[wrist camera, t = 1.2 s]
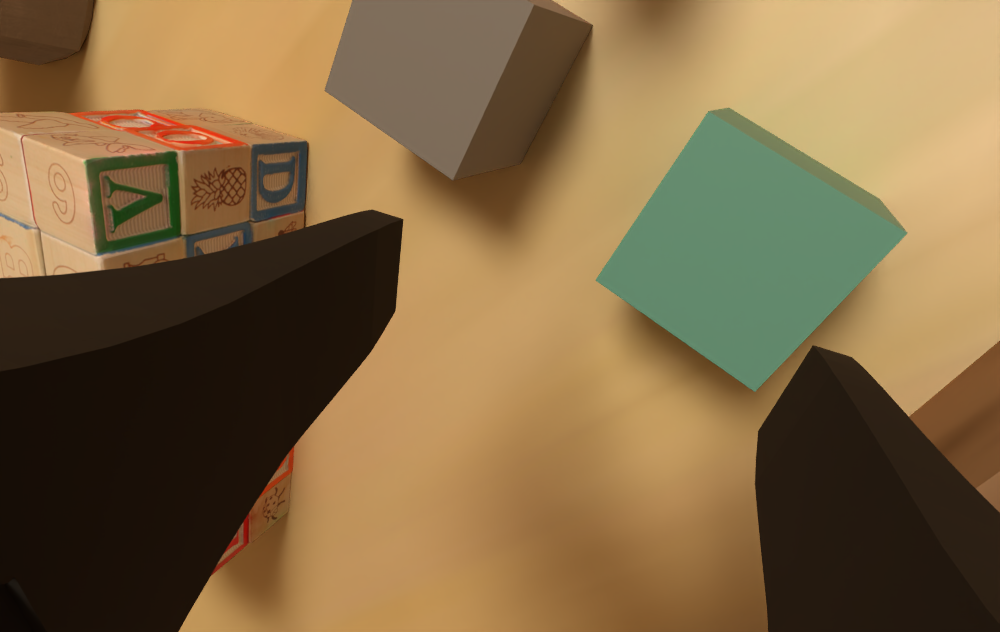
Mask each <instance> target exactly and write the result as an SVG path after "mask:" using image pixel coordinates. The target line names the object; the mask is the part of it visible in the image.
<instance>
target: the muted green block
mask: <svg viewBox="0 0 1000 632" xmlns="http://www.w3.org/2000/svg"><path fill="white" fill-rule="evenodd" d="M906 234H907V232H906V231H905V229H904V228H903V227H902V226H901V224H900V223H899V222H898V221H897V220H896V218H895V217H894V216H893V215H892V213H891V212H890V211H889V210H888V209H887V207H886V206H885V205H884V204H883V202H882V201H881V200H880V199H879V198H877V197H875V196H874V195H872V194H870V193H869V192H867V191H865V190H864V189H862V188H861V187H859V186H857V185H856V184H854V183H852V182H851V181H849V180H847V179H846V178H844V177H842V176H841V175H839V174H837V173H836V172H834V171H832V170H831V169H829V168H828V167H826V166H824V165H823V164H821V163H819V162H818V161H816V160H814V159H813V158H811V157H809V156H808V155H806V154H804V153H803V152H801V151H800V150H798V149H796V148H795V147H793V146H791V145H790V144H788V143H786V142H785V141H783V140H781V139H780V138H778V137H776V136H775V135H773V134H771V133H770V132H768V131H767V130H765V129H763V128H762V127H760V126H758V125H757V124H755V123H753V122H752V121H750V120H748V119H747V118H745V117H743V116H742V115H740V114H738V113H737V112H735V111H734V110H732V109H730V108H725V109H719V110H713V111H708V113H707V114H706V116H705V117H704V119H703V120H702V122H701V123H700V125H699V126H698V128H697V129H696V131H695V132H694V134H693V135H692V137H691V138H690V140H689V141H688V143H687V144H686V146H685V147H684V149H683V150H682V152H681V153H680V155H679V156H678V158H677V159H676V161H675V162H674V164H673V165H672V167H671V168H670V170H669V171H668V173H667V174H666V176H665V177H664V179H663V180H662V182H661V183H660V185H659V186H658V188H657V189H656V191H655V192H654V194H653V195H652V197H651V198H650V200H649V201H648V203H647V204H646V206H645V207H644V208H643V210H642V211H641V213H640V214H639V216H638V217H637V219H636V220H635V222H634V223H633V225H632V226H631V228H630V229H629V231H628V232H627V234H626V235H625V237H624V238H623V240H622V241H621V243H620V244H619V246H618V247H617V249H616V250H615V252H614V253H613V255H612V256H611V258H610V259H609V261H608V262H607V264H606V265H605V267H604V268H603V270H602V271H601V273H600V274H599V276H598V277H597V279H596V281H597V282H599V283H600V284H601V285H603V286H604V287H606V288H607V289H609V290H610V291H611V292H613V293H614V294H616V295H617V296H619V297H620V298H621V299H623V300H624V301H626V302H627V303H629V304H630V305H631V306H633V307H634V308H636V309H637V310H639V311H640V312H641V313H643V314H644V315H646V316H647V317H649V318H650V319H651V320H653V321H654V322H656V323H657V324H659V325H660V326H661V327H663V328H664V329H666V330H667V331H669V332H670V333H671V334H673V335H674V336H676V337H677V338H679V339H680V340H681V341H683V342H684V343H686V344H687V345H689V346H690V347H691V348H693V349H694V350H696V351H697V352H699V353H700V354H701V355H703V356H704V357H706V358H707V359H708V360H710V361H711V362H713V363H714V364H716V365H717V366H718V367H720V368H721V369H723V370H724V371H726V372H727V373H728V374H730V375H731V376H733V377H734V378H736V379H737V380H738V381H740V382H741V383H743V384H744V385H746V386H747V387H748V388H750V389H751V390H753V391H754V392H755V391H756V390H757V389H758V388H759V387H760V386H761V385H762V384H763V383H764V382H765V381H766V380H767V379H768V378H769V377H770V376H771V375H772V374H773V373H774V372H775V370H776V369H777V368H778V367H779V366H780V365H781V364H782V363H783V362H784V361H785V360H786V359H787V358H788V357H789V356H790V355H791V354H792V353H793V352H794V351H795V350H796V349H797V348H798V347H799V346H800V344H801V343H802V342H803V341H804V340H805V339H806V338H807V337H808V336H809V335H810V334H811V333H812V332H813V331H814V330H815V329H816V328H817V327H818V326H819V325H820V324H821V323H822V322H823V321H824V320H825V318H826V317H827V316H828V315H829V314H830V313H831V312H832V311H833V310H834V309H835V308H836V307H837V306H838V305H839V304H840V303H841V302H842V301H843V300H844V299H845V298H846V297H847V296H848V295H849V294H850V292H851V291H852V290H853V289H854V288H855V287H856V286H857V285H858V284H859V283H860V282H861V281H862V280H863V279H864V278H865V277H866V276H867V275H868V274H869V273H870V272H871V271H872V270H873V269H874V268H875V266H876V265H877V264H878V263H879V262H880V261H881V260H882V259H883V258H884V257H885V256H886V255H887V254H888V253H889V252H890V251H891V250H892V249H893V248H894V247H895V246H896V245H897V244H898V243H899V242H900V240H901V239H902V238H903V237H904V236H905V235H906Z"/></svg>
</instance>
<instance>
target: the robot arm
mask: <svg viewBox="0 0 1000 632" xmlns="http://www.w3.org/2000/svg"><path fill="white" fill-rule="evenodd" d="M402 228H403V219H401V218H398V217H394V216H391V215H388V214H385V213H381V212H378V211H375V210H368V211H362V212H358V213H354V214H350V215H346V216H343V217H339V218H336V219H333V220H329V221H326V222H323V223H319V224H316V225H313V226H309V227H306V228H302V229H299V230H296V231H292V232H289V233H286V234H282V235H279V236H275V237H272V238H268V239H264V240H260V241H256V242H252V243H248V244H244V245H240V246H237V247H233V248H229V249H225V250H221V251H217V252H212V253H208V254H203V255H198V256H193V257H188V258H183V259H178V260H172V261H166V262H160V263H154V264H148V265H141V266H134V267H126V268H117V269H107V270H98V271H89V272H79V273H70V274H61V275H47V276H30V277H13V278H0V632H178V631H179V630H180V628H181V626H182V624H183V622H184V621H185V619H186V617H187V615H188V613H189V612H190V610H191V608H192V607H193V605H194V603H195V601H196V600H197V598H198V596H199V595H200V593H201V591H202V590H203V588H204V586H205V585H206V583H207V581H208V579H209V578H210V576H211V574H212V573H213V571H214V569H215V568H216V566H217V564H218V562H219V561H220V559H221V557H222V556H223V554H224V552H225V551H226V549H227V547H228V546H229V544H230V543H231V541H232V539H233V538H234V536H235V535H236V533H237V531H238V530H239V528H240V527H241V525H242V523H243V522H244V520H245V519H246V517H247V515H248V514H249V512H250V511H251V509H252V507H253V506H254V504H255V503H256V501H257V500H258V498H259V497H260V495H261V494H262V492H263V491H264V489H265V488H266V486H267V484H268V483H269V481H270V480H271V478H272V477H273V475H274V474H275V472H276V471H277V469H278V468H279V466H280V465H281V463H282V462H283V460H284V459H285V457H286V456H287V455H288V453H289V452H290V451H291V449H292V448H293V447H294V445H295V444H296V443H297V441H298V440H299V439H300V437H301V436H302V435H303V434H304V433H305V431H306V430H307V429H308V428H309V427H310V425H311V424H312V423H313V422H314V421H315V419H316V418H317V417H318V416H319V415H320V413H321V412H322V411H323V410H324V408H325V407H326V406H327V405H328V404H329V402H330V401H331V400H332V399H333V398H334V396H335V395H336V394H337V393H338V392H339V390H340V389H341V388H342V387H343V386H344V384H345V383H346V382H347V381H348V379H349V378H350V377H351V376H352V375H353V373H354V372H355V371H356V370H357V368H358V367H359V366H360V365H361V364H362V362H363V361H364V360H365V359H366V357H367V356H368V355H369V353H370V352H371V351H372V349H373V348H374V346H375V344H376V343H377V341H378V340H379V338H380V336H381V335H382V333H383V331H384V330H385V328H386V326H387V325H388V323H389V321H390V319H391V318H392V316H393V314H394V313H395V309H396V298H397V286H398V274H399V263H400V251H401V239H402ZM755 488H756V501H757V512H758V523H759V533H760V543H761V553H762V563H763V573H764V583H765V592H766V602H767V614H768V632H1000V512H999V511H998V510H997V509H996V508H995V507H994V506H993V505H992V504H991V503H990V502H989V501H988V500H987V499H986V498H985V497H984V496H983V495H982V494H981V493H980V492H979V491H978V490H977V489H975V488H974V487H973V486H972V485H971V484H970V483H969V481H968V480H967V479H966V478H965V477H964V476H963V475H962V474H961V473H960V472H959V471H958V470H957V469H956V468H955V467H954V466H953V465H952V464H951V463H950V462H949V461H948V459H947V458H946V457H945V456H944V455H943V454H942V453H941V452H940V451H939V450H938V449H937V448H936V447H935V445H934V444H933V443H932V442H931V441H930V440H929V439H928V438H927V437H926V436H925V434H924V433H923V432H922V431H921V430H920V429H919V428H918V427H917V426H916V425H915V423H914V422H913V421H912V420H911V419H910V418H909V417H908V416H907V415H906V413H905V412H904V411H903V410H902V409H901V408H900V407H899V406H898V405H897V403H896V402H895V401H894V400H893V399H892V398H891V397H890V396H889V395H888V393H887V392H886V391H885V390H884V389H883V388H882V387H881V386H880V385H879V384H878V383H877V381H876V380H875V379H874V378H873V377H872V376H871V375H870V374H869V373H868V372H867V371H866V370H865V369H864V368H863V367H862V366H861V365H860V364H859V363H858V362H857V361H855V360H854V359H853V358H852V357H849V356H846V355H843V354H839V353H836V352H833V351H830V350H826V349H823V348H820V347H817V346H812V348H811V349H810V351H809V352H808V354H807V356H806V357H805V359H804V360H803V362H802V363H801V365H800V367H799V368H798V370H797V371H796V373H795V374H794V376H793V378H792V379H791V381H790V382H789V384H788V385H787V387H786V389H785V390H784V392H783V393H782V395H781V396H780V398H779V399H778V401H777V403H776V404H775V406H774V407H773V409H772V410H771V412H770V414H769V415H768V417H767V418H766V420H765V421H764V423H763V425H762V426H761V428H760V429H759V431H758V441H757V455H756V475H755Z"/></svg>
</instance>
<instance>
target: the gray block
mask: <svg viewBox="0 0 1000 632" xmlns="http://www.w3.org/2000/svg"><path fill="white" fill-rule="evenodd" d="M592 26H593V25H592V24H590V23H588V22H587V21H585V20H583V19H582V18H580V17H578V16H577V15H575V14H573V13H572V12H570V11H569V10H567V9H565V8H564V7H562V6H560V5H559V4H557V3H555V2H554V1H552V0H352V4H351V7H350V10H349V13H348V16H347V20H346V23H345V26H344V29H343V33H342V36H341V39H340V42H339V46H338V49H337V52H336V55H335V58H334V62H333V65H332V68H331V71H330V75H329V78H328V81H327V84H326V88H325V91H326V92H327V93H329V94H330V95H331V96H333V97H334V98H336V99H337V100H339V101H340V102H341V103H343V104H344V105H346V106H347V107H349V108H350V109H351V110H353V111H354V112H356V113H357V114H359V115H360V116H361V117H363V118H364V119H366V120H367V121H369V122H370V123H371V124H373V125H374V126H376V127H377V128H379V129H380V130H381V131H383V132H384V133H386V134H387V135H389V136H390V137H391V138H393V139H394V140H396V141H397V142H399V143H400V144H401V145H403V146H404V147H406V148H407V149H409V150H410V151H411V152H413V153H414V154H416V155H417V156H419V157H420V158H421V159H423V160H424V161H426V162H427V163H429V164H430V165H431V166H433V167H434V168H436V169H437V170H439V171H440V172H441V173H443V174H444V175H446V176H447V177H449V178H450V179H451V180H457V179H461V178H465V177H469V176H473V175H477V174H481V173H485V172H489V171H493V170H498V169H502V168H506V167H510V166H514V165H518V164H521V162H522V160H523V158H524V156H525V154H526V153H527V151H528V149H529V147H530V145H531V143H532V141H533V139H534V137H535V135H536V133H537V131H538V130H539V128H540V126H541V124H542V122H543V120H544V118H545V116H546V114H547V112H548V110H549V108H550V107H551V105H552V103H553V101H554V99H555V97H556V95H557V93H558V91H559V89H560V87H561V85H562V84H563V82H564V80H565V78H566V76H567V74H568V72H569V70H570V68H571V66H572V64H573V62H574V61H575V59H576V57H577V55H578V53H579V51H580V49H581V47H582V45H583V43H584V41H585V39H586V38H587V36H588V34H589V32H590V30H591V28H592Z"/></svg>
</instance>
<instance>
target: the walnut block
mask: <svg viewBox="0 0 1000 632" xmlns="http://www.w3.org/2000/svg"><path fill="white" fill-rule="evenodd" d="M909 418H910V419H911V420H912V421H913V422H914V423H915V425H916V426H917V427H918V428H919V429H920V430H921V431H922V432H923V433H924V434H925V436H926V437H927V438H928V439H929V440H930V441H931V442H932V443H933V444H934V445H935V447H936V448H937V449H938V450H939V451H940V452H941V453H942V454H943V455H944V456H945V457H946V458H947V459H948V461H949V462H950V463H951V464H952V465H953V466H954V467H955V468H956V469H957V470H958V471H959V472H960V473H961V474H962V475H963V476H964V477H965V478H966V479H967V480H968V481H969V483H970V484H971V485H972V486H973V487H974V488H975V489H977V490H978V491H979V492H980V493H981V494H982V495H983V496H984V497H985V498H986V499H987V500H988V501H989V502H990V503H991V504H992V505H993V506H994V507H995V508H996V509H997V510H998V511H999V512H1000V341H999V342H998V343H997V344H995V345H994V346H993V347H992V348H991V349H989V350H988V351H987V352H986V353H985V354H983V355H982V356H981V357H980V358H979V359H977V360H976V361H975V362H974V363H973V364H972V365H970V366H969V367H968V368H967V369H966V370H964V371H963V372H962V373H961V374H960V375H958V376H957V377H956V378H955V379H954V380H952V381H951V382H950V383H949V384H948V385H947V386H945V387H944V388H943V389H942V390H941V391H939V392H938V393H937V394H936V395H935V396H933V397H932V398H931V399H930V400H929V401H927V402H926V403H925V404H924V405H923V406H922V407H920V408H919V409H918V410H917V411H916V412H914V413H913V414H912V415H911V416H910V417H909Z"/></svg>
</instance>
